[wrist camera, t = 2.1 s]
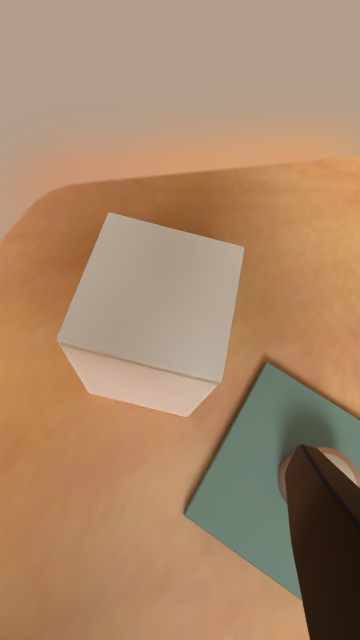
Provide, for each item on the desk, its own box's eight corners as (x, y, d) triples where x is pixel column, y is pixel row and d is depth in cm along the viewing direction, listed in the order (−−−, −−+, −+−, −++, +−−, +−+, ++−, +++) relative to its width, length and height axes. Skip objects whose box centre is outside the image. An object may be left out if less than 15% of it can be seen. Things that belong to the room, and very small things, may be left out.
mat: (352, 636, 17) (359, 642, 16) (183, 514, 18) (184, 515, 17) (404, 453, 21) (412, 453, 20) (264, 364, 22) (267, 362, 21)
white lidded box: (186, 417, 20) (222, 381, 12) (88, 393, 20) (55, 339, 12) (205, 328, 22) (244, 247, 14) (118, 306, 22) (108, 211, 14)
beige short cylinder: (307, 532, 18) (332, 541, 15) (265, 475, 19) (283, 475, 16) (348, 489, 19) (376, 491, 17) (306, 437, 20) (328, 433, 17)
